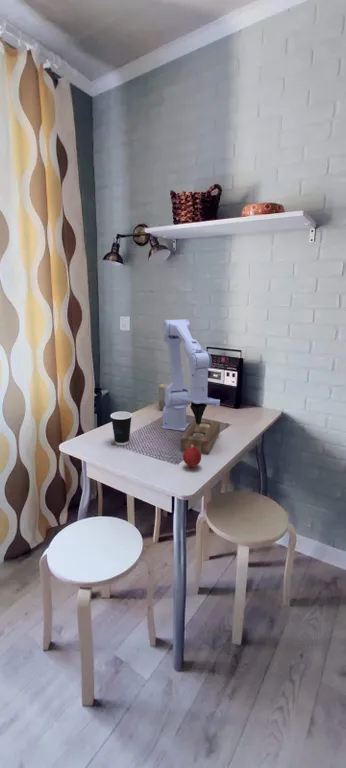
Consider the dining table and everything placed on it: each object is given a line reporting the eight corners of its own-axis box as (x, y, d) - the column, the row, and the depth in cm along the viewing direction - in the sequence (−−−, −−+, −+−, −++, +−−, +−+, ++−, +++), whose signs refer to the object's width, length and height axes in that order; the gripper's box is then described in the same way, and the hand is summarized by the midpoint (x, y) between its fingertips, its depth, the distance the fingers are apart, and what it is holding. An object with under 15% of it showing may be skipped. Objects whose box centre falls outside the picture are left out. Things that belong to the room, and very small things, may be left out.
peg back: (197, 437, 150) (198, 426, 148) (200, 433, 153) (200, 422, 152) (208, 438, 148) (208, 427, 147) (210, 434, 152) (210, 424, 151)
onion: (190, 461, 130) (190, 439, 128) (204, 466, 127) (205, 444, 125) (179, 467, 126) (179, 445, 124) (193, 473, 122) (194, 450, 120)
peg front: (191, 447, 140) (191, 436, 139) (194, 443, 144) (194, 432, 143) (202, 449, 139) (202, 437, 138) (204, 444, 143) (204, 433, 142)
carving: (155, 410, 182) (155, 385, 179) (164, 405, 188) (164, 382, 185) (166, 412, 178) (166, 387, 175) (175, 408, 184) (175, 384, 181)
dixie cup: (131, 437, 150) (130, 410, 147) (134, 445, 142) (133, 417, 140) (110, 439, 148) (109, 412, 145) (112, 448, 141) (111, 419, 138)
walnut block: (180, 450, 139) (181, 437, 137) (194, 430, 157) (195, 419, 156) (208, 454, 136) (208, 441, 134) (219, 433, 154) (219, 421, 153)
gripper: (176, 387, 134) (176, 424, 138) (217, 391, 130) (216, 429, 133) (182, 382, 141) (181, 417, 144) (221, 386, 136) (220, 422, 140)
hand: (198, 423), depth 139 cm, fingers closed
